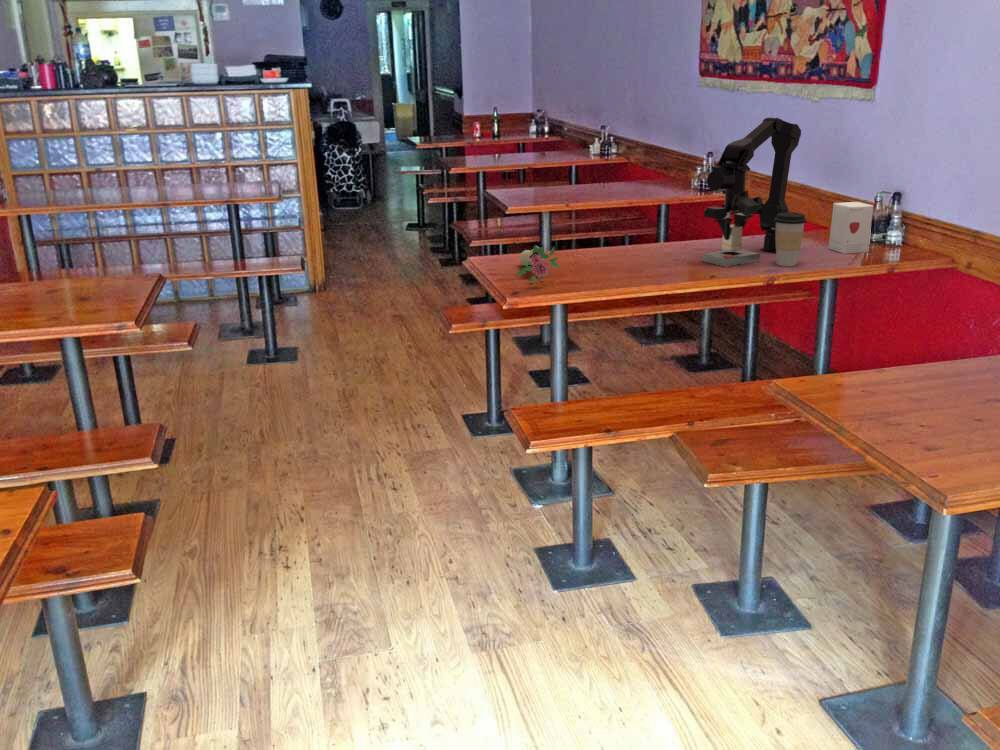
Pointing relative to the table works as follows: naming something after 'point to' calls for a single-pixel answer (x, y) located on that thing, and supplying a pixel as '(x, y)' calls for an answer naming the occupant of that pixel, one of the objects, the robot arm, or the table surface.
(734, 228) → the post
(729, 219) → the robot arm
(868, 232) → the supplement box
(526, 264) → the flower vase
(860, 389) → the table surface
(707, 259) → the sleeve block
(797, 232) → the coffee cup
